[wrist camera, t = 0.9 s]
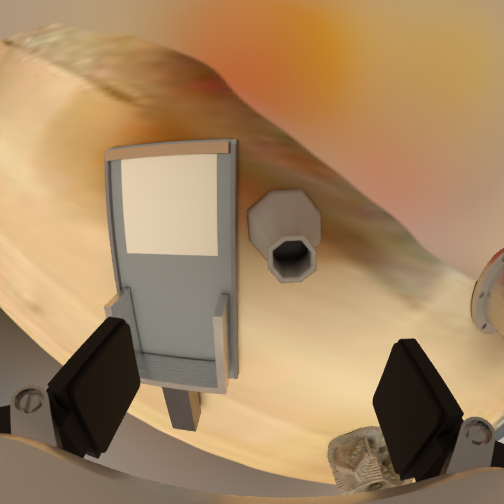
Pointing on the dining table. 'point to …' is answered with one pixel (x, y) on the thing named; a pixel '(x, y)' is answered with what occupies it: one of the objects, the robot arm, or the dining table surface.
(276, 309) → the dining table surface
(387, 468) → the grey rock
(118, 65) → the dining table surface
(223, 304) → the housing
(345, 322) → the dining table surface
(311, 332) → the dining table surface
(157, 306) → the base board
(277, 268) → the flask
